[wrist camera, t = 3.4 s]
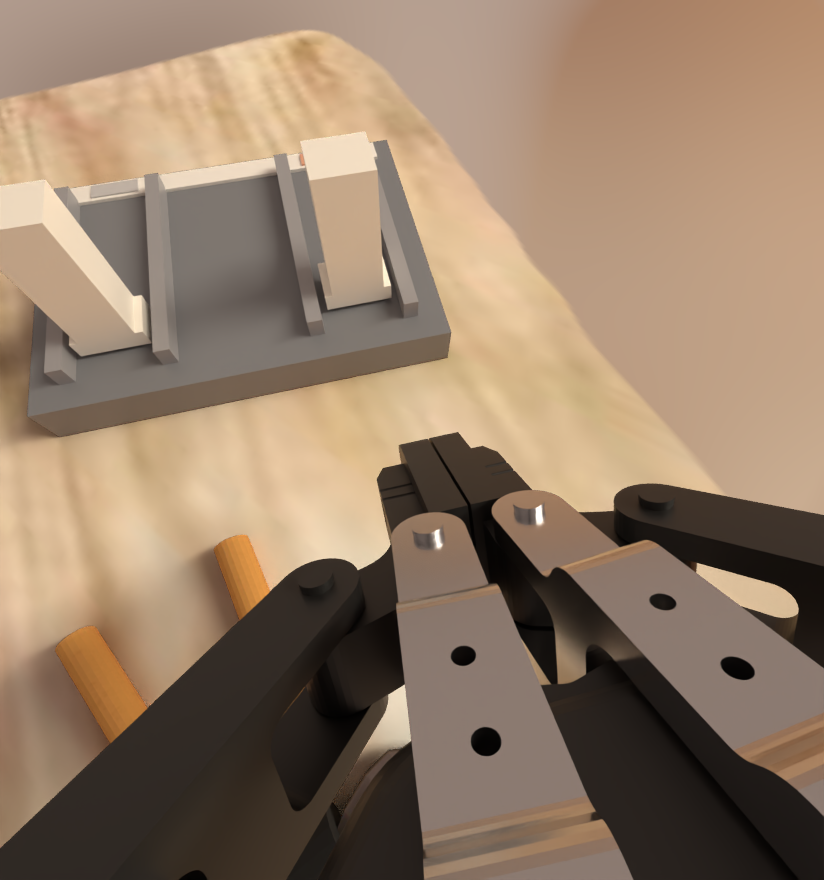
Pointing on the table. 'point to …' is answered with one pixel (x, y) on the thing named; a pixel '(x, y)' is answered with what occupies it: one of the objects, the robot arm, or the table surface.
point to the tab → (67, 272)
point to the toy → (123, 705)
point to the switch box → (230, 296)
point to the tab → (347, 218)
